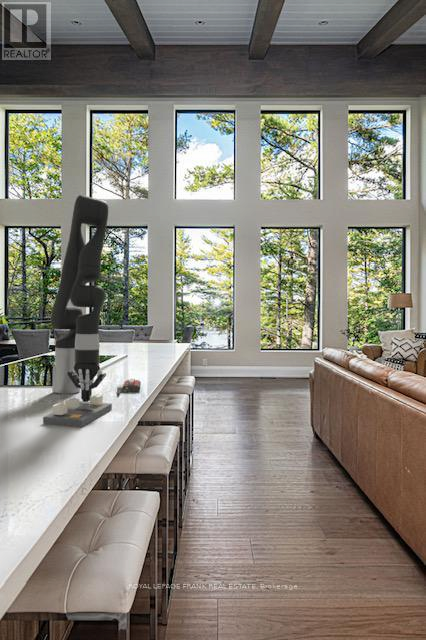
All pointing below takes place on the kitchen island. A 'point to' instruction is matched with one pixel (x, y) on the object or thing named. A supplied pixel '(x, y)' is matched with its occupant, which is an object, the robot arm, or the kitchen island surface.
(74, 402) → the tab middle
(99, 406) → the switch panel
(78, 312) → the robot arm
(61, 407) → the tab front
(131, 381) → the walkie-talkie
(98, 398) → the tab back
